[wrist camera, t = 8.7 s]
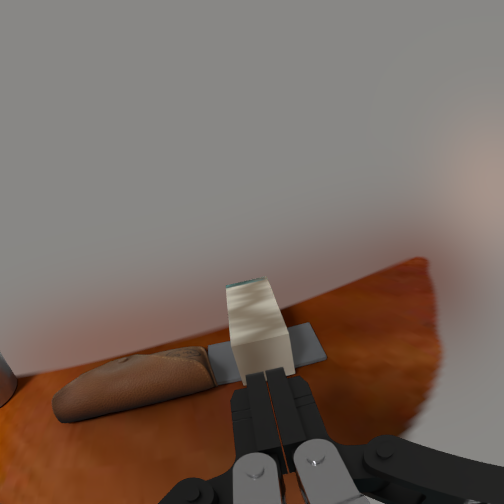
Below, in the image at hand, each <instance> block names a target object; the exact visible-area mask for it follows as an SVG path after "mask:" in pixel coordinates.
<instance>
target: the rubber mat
mask: <svg viewBox="0 0 504 504" xmlns="http://www.w3.org/2000/svg"><path fill="white" fill-rule="evenodd" d="M287 330H288V333H289V338H290V344H291V350H292V356H293V362H294V368H297V367H301V366H305V365H308V364H312V363H315V362H319V361H322V360H326V359H327V356H326V354H325V352H324V350H323V348H322V347H321V345H320V343H319V341H318V339H317V337H316V335H315V333H314V331H313V329H312V327H311V325H310V323H309V322H308V323H304V324H300V325H297V326H293V327H289V328H287ZM208 358H209V361H210V364H211V367H212V370H213V372H214V375H215V378H216V381H217V385H221V384H226V383H232V382H237V381H242V379H241V376H240V373H239V370H238V367H237V364H236V361H235V357H234V354H233V351H232V348H231V341H228V342H223V343H218V344H213V345H208Z"/></svg>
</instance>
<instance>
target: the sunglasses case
mask: <svg viewBox="0 0 504 504" xmlns="http://www.w3.org/2000/svg"><path fill="white" fill-rule="evenodd" d="M212 387H218V385H217V381H216V378H215V375H214V372H213V370H212V367H211V364H210V361H209V358H208V355H207V352H206V350H205V348H204V347H184V348H178V349H172V350H168V351H163V352H159V353H154V354H150V355H139V354H136V355H132V356H129V357H125V358H121V359H117V360H114V361H111V362H108V363H106V364H104V365H102V366H100V367H98V368H95V369H93V370H91V371H88V372H86V373H83V374H81V375H80V376H79V377H78V378H76V379H75V380H73V381H72V382H70V383H68V384H67V385H66V386H64V387H63V388H62V389H61V390H59V391H58V392H57V393H56V394H54V396H53V399H52V408H53V412H54V414H55V416H56V418H57V419H58V420H59V421H60V422H61V423H70V422H75V421H80V420H83V419H89V418H91V417H97V416H101V415H104V414H107V413H113V412H119V411H124V410H129V409H133V408H137V407H141V406H145V405H148V404H154V403H159V402H163V401H166V400H170V399H174V398H177V397H181V396H185V395H189V394H193V393H196V392H199V391H203V390H207V389H210V388H212Z"/></svg>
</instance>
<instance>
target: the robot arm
mask: <svg viewBox="0 0 504 504" xmlns="http://www.w3.org/2000/svg"><path fill="white" fill-rule="evenodd" d="M265 373H266V377H267V382H268V386H269V390H270V395H271V399H272V403H273V407H274V412H275V416H276V420H277V424H278V428H279V432H280V436H281V440H282V444H283V448H284V452H285V456H286V460H287V464H288V468H289V472H290V473H292V472H295V473H296V477H297V481H298V484H299V489H300V492H301V495H302V497H303V500H304V502H305V504H370V503H369V501H368V499H367V498H366V497H365V496H368V497H370V498H372V499H375V500H377V501H380V502H382V503H385V504H504V467H501V466H497V465H492V464H487V463H483V462H478V461H474V460H470V459H466V458H463V457H458V456H455V455H452V454H448V453H445V452H441V451H438V450H435V449H431V448H428V447H425V446H422V445H419V444H416V443H413V442H410V441H407V440H404V439H402V438H399V437H396V436H393V435H381V436H377V437H375V438H373V439H372V440H371V441H370V442H369V443H368V444H365V445H342V444H339V443H336V442H335V441H333V440H332V439H331V438H330V437H329V436H328V434H327V431H326V429H325V426H324V424H323V421H322V418H321V416H320V413H319V411H318V408H317V406H316V404H315V400H314V398H313V396H312V393H311V390H310V387H309V385H308V383H307V382H306V381H305V380H303V379H302V378H301V377H300V376H296V377H292V378H288V379H287V377H286V374H285V371H284V368H283V367H279V368H274V369H270V370H266V371H265ZM245 377H246V384H247V388H243V389H238V390H235V391H234V393H233V396H232V398H231V401H230V402H231V412H232V421H233V432H234V441H235V450H236V459H235V462H234V464H233V466H232V467H231V468H230V469H229V470H228V471H227V472H225V473H224V474H222V475H220V476H217V477H215V478H212V479H210V480H207V481H205V480H203V479H200V478H187V479H184V480H182V481H180V482H178V483H177V484H176V485H175V486H174V487H173V488H172V490H171V491H170V492H169V493H168V494H167V495H166V496H165V497H164V498H163V499H162V500H161V501H160V502H159V503H158V504H287V503H286V495H285V492H286V488H285V483H284V479H283V475H284V474H288V472H287V468H286V464H285V460H284V456H283V451H282V447H281V443H280V439H279V435H278V431H277V427H276V422H275V418H274V414H273V410H272V406H271V401H270V397H269V393H268V389H267V385H266V380H265V376H264V372H263V371H262V372H257V373H252V374H247V375H245ZM16 386H17V378H16V376H15V375H14V374H13V372H12V370H11V369H10V367H9V366H8V364H7V362H6V361H5V359H4V358H3V356H2V354H1V352H0V407H1V406H2V405H3V404H4V403H6V402H7V401H8V400H9V398H10V397H11V396H12V394H13V393H14V391H15V389H16ZM360 493H361V494H363V495H361V494H360ZM364 495H365V496H364Z"/></svg>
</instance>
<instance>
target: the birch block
mask: <svg viewBox="0 0 504 504" xmlns="http://www.w3.org/2000/svg"><path fill="white" fill-rule="evenodd" d="M226 294H227V306H228V318H229V329H230V340H231V348H232V351H233V354H234V357H235V361H236V364H237V367H238V370H239V373H240V376H241V379H242V382H243V385H247V384H246V377H245V375H247V374H252V373H257V372H262V371H263V372H264V376H265V380H266V381H267V377H266V373H265V371H266V370H270V369H274V368H279V367H283V368H284V371H285V374H286V376H288V375H292V374H295V368H294V362H293V356H292V350H291V344H290V338H289V333H288V330H287V327H286V325H285V322H284V320H283V317H282V315H281V312H280V310H279V307H278V305H277V302H276V299H275V297H274V294H273V292H272V289H271V287H270V284H269V282H268V279H267V277H261V278H257V279H253V280H249V281H244V282H240V283H235V284H231V285H226Z"/></svg>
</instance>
